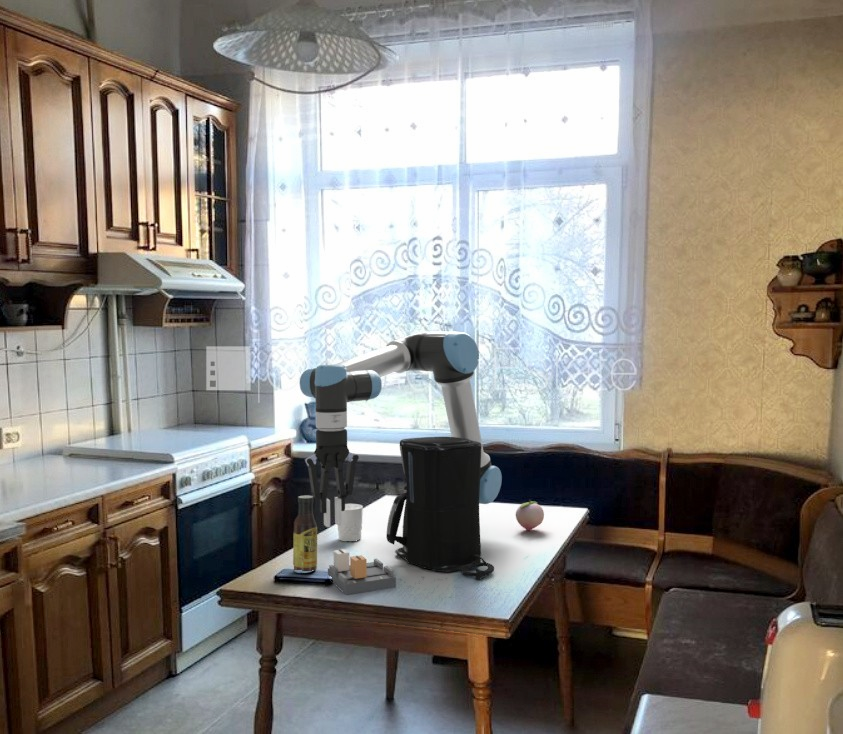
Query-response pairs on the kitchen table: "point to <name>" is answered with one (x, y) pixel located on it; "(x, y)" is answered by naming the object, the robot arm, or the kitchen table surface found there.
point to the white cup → (351, 523)
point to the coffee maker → (440, 505)
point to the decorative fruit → (529, 515)
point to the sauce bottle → (305, 536)
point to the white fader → (341, 560)
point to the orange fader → (358, 566)
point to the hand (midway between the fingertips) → (332, 525)
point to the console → (373, 581)
